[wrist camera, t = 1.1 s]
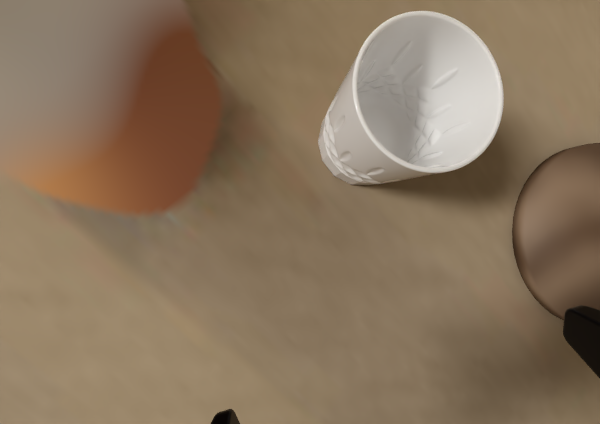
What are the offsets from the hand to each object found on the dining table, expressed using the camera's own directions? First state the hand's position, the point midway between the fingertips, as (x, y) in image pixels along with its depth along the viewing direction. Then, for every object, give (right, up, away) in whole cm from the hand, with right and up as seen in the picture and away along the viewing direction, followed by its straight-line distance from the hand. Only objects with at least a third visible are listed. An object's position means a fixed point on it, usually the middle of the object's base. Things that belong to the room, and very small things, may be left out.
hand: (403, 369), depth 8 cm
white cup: (+2, +10, +17) cm, 20 cm away
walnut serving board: (+23, +2, +20) cm, 31 cm away
